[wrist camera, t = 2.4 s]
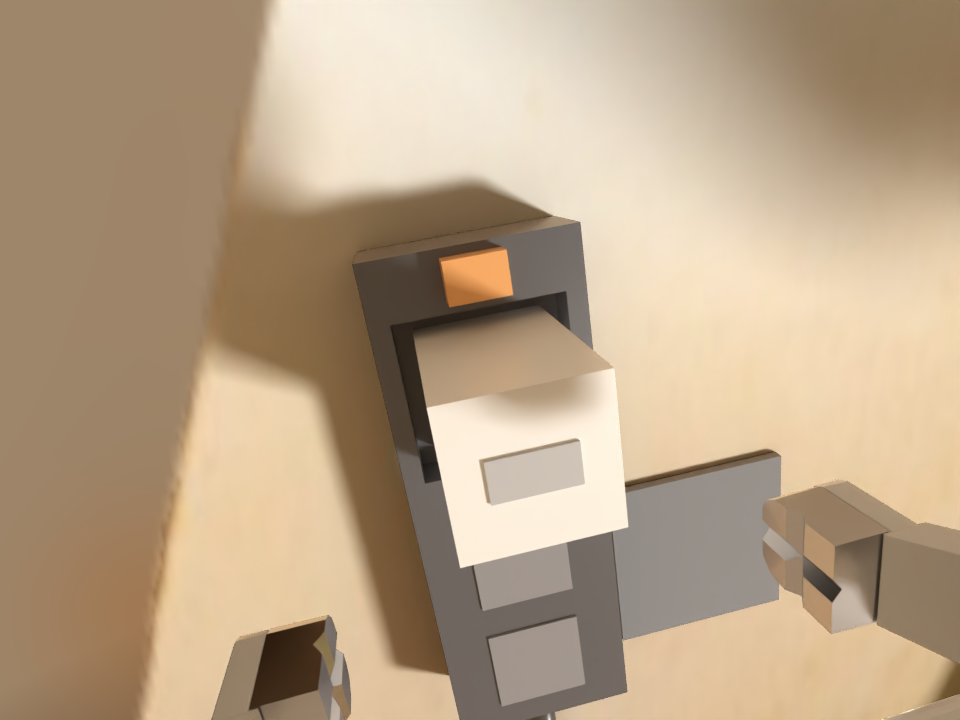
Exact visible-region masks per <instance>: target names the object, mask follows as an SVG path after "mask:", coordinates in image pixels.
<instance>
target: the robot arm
mask: <svg viewBox="0 0 960 720" xmlns="http://www.w3.org/2000/svg"><path fill="white" fill-rule="evenodd" d="M762 520H763V521H764V522H765V523H766V524H767V525H768V526H769V527H770V528H769V529H768V531H767V533H766V534H765V536H764V538H763V539H762V543H763V556H764V558H765V561H766V564H767V566H768V569H769V571H770V572H771V574H772V575H773V577H774V578H775V580H776V581H777V582H778V583H779V584H780V585H781V586H782V587H783V588H784V589H785V590H787V591H790V592H793V593H795V594H798V595H800V596H802V602H803V607H804V608H805V609H806V610H807V611H808V612H809V613H810V614H811V615H812V616H813V617H814V618H815V619H816V620H817V621H818V622H819V623H820V624H821V625H822V626H823V627H824V628H825V629H826V630H827V631H828V632H829V633H830V634H834V633H838V632H841V631H845V630H849V629H853V628H857V627H860V626H864V625H868V624H872V623H875V622H877V625H878V626H880V627H882V628H885V629H887V630H889V631H891V632H893V633H895V634H897V635H899V636H901V637H903V638H906V639H908V640H910V641H912V642H914V643H916V644H918V645H920V646H922V647H925V648H927V649H929V650H931V651H933V652H935V653H937V654H939V655H941V656H943V657H946V658H948V659H950V660H952V661H954V662H956V663H958V664H960V531H959V530H955V529H951V528H947V527H942V526H938V525H934V524H930V523H926V522H925V523H921V524H916V523H915V522H913V521H911V520H910V519H908V518H907V517H905V516H903V515H902V514H900V513H898V512H897V511H895V510H894V509H892V508H890V507H889V506H887V505H885V504H884V503H882V502H881V501H879V500H877V499H876V498H874V497H872V496H871V495H869V494H868V493H866V492H864V491H863V490H861V489H859V488H858V487H856V486H855V485H853V484H851V483H850V482H848V481H844V480H839V479H838V480H835V481H831V482H828V483H824V484H821V485H817V486H814V487H813V488H809V489H806V490H802V491H798V492H794V493H791V494H787V495H783V496H780V497H776V498H772V499H768V500H766V501H765V503H764V505H763V508H762ZM336 640H337V632H336V629H335V626H334V623H333V620H332V618H331V617H330V616H329V615H326V616H322V617H318V618H314V619H309V620H305V621H301V622H297V623H293V624H288V625H284V626H280V627H276V628H272V629H270V630H265V631H261V632H257V633H253V634H249V635H245V636H241V637H240V638H239V639H238V640H237V641H236V642H235V644H234V647H233V650H232V653H231V656H230V660H229V663H228V666H227V670H226V673H225V676H224V680H223V683H222V686H221V689H220V693H219V696H218V699H217V703H216V706H215V709H214V713H213V716H212V719H211V720H347V718H348V717H349V715H350V714H351V691H350V679H349V674H348V669H347V664H346V661H345V658H344V654H343V653H342V652H340V651H339V650H337V649H336ZM880 720H960V694H958V695H955V696H951V697H948V698H945V699H942V700H939V701H936V702H933V703H930V704H927V705H924V706H920V707H917V708H914V709H911V710H908V711H905V712H902V713H899V714H896V715H893V716H889V717H886V718H883V719H880Z"/></svg>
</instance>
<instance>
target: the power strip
mask: <svg viewBox="0 0 960 720" xmlns="http://www.w3.org/2000/svg"><path fill="white" fill-rule="evenodd" d="M352 265H353V269H354V274H355V278H356V282H357V286H358V291H359V295H360V299H361V303H362V308H363V312H364V316H365V320H366V324H367V329H368V333H369V337H370V341H371V346H372V350H373V354H374V358H375V363H376V367H377V371H378V375H379V380H380V384H381V388H382V392H383V397H384V401H385V405H386V409H387V414H388V418H389V422H390V426H391V430H392V435H393V439H394V443H395V447H396V452H397V456H398V460H399V464H400V469H401V473H402V477H403V481H404V486H405V490H406V494H407V498H408V503H409V507H410V511H411V515H412V519H413V524H414V528H415V532H416V536H417V541H418V545H419V549H420V553H421V558H422V562H423V566H424V570H425V575H426V579H427V583H428V587H429V592H430V596H431V600H432V604H433V608H434V613H435V617H436V621H437V625H438V630H439V634H440V638H441V642H442V647H443V651H444V655H445V659H446V664H447V668H448V672H449V676H450V681H451V685H452V689H453V693H454V697H455V702H456V706H457V710H458V714H459V719H460V720H527V719H530V720H556V716H555V712H556V711H560V710H564V709H567V708H571V707H575V706H578V705H582V704H586V703H589V702H593V701H597V700H600V699H604V698H608V697H611V696H615V695H618V694H622V693H626V692H627V683H626V673H625V663H624V653H623V643H622V633H621V623H620V613H619V603H618V593H617V583H616V573H615V563H614V554H613V544H612V534H611V532H607V533H603V534H599V535H595V536H591V537H586V538H582V539H578V540H574V541H570V542H566V543H562V544H558V545H554V546H549V547H545V548H541V549H537V550H533V551H529V552H525V553H521V554H517V555H512V556H508V557H504V558H500V559H496V560H492V561H488V562H484V563H480V564H476V565H471V566H467V567H463V568H460V565H459V560H458V555H457V550H456V545H455V541H454V536H453V531H452V526H451V522H450V517H449V512H448V507H447V503H446V498H445V493H444V488H443V484H442V479H441V474H440V469H439V465H438V460H437V455H436V450H435V446H434V441H433V436H432V431H431V427H430V422H429V417H428V412H427V407H426V402H425V397H424V391H423V386H422V380H421V375H420V370H419V364H418V359H417V353H416V348H415V342H414V337H413V332H412V330H415V329H420V328H425V327H430V326H435V325H440V324H445V323H450V322H455V321H460V320H465V319H470V318H475V317H480V316H485V315H490V314H495V313H500V312H505V311H510V310H515V309H520V308H525V307H530V306H535V305H539V306H540V307H542V308H543V309H544V310H545V311H546V312H548V313H549V314H550V315H551V316H552V317H554V318H555V319H556V320H557V321H558V322H560V323H561V324H562V325H563V326H565V327H566V328H567V329H568V330H569V331H571V332H572V333H573V334H574V335H575V336H577V337H578V338H579V339H580V340H581V341H583V342H584V343H585V344H586V345H587V346H589V347H590V348H591V349H592V350H593V344H592V334H591V324H590V314H589V304H588V294H587V284H586V274H585V264H584V254H583V244H582V235H581V225H580V222H578V221H574V220H570V219H565V218H561V217H557V216H550V217H544V218H539V219H533V220H528V221H522V222H517V223H511V224H506V225H501V226H495V227H490V228H484V229H479V230H473V231H468V232H462V233H457V234H451V235H446V236H441V237H435V238H430V239H424V240H419V241H413V242H408V243H402V244H397V245H391V246H386V247H381V248H375V249H370V250H364V251H359V252H357V253H356V255H355V258H354V261H353V264H352Z"/></svg>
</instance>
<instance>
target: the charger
mask: <svg viewBox="0 0 960 720" xmlns="http://www.w3.org/2000/svg"><path fill="white" fill-rule="evenodd" d="M412 332H413V337H414V342H415V348H416V353H417V359H418V364H419V370H420V375H421V380H422V386H423V391H424V397H425V402H426V407H427V412H428V417H429V422H430V427H431V431H432V436H433V441H434V446H435V450H436V455H437V460H438V465H439V469H440V474H441V479H442V484H443V488H444V493H445V498H446V503H447V507H448V512H449V517H450V522H451V526H452V531H453V536H454V541H455V545H456V550H457V555H458V560H459V565H460V568H463V567H467V566H471V565H476V564H480V563H484V562H488V561H492V560H496V559H500V558H504V557H508V556H512V555H517V554H521V553H525V552H529V551H533V550H537V549H541V548H545V547H549V546H554V545H558V544H562V543H566V542H570V541H574V540H578V539H582V538H586V537H591V536H595V535H599V534H603V533H607V532H611V531H615V530H619V529H623V528H627V527H628V517H627V506H626V494H625V483H624V472H623V460H622V449H621V438H620V426H619V415H618V404H617V392H616V381H615V369H614V367H613V366H611V365H610V364H609V363H608V362H607V361H605V360H604V359H603V358H602V357H601V356H599V355H598V354H597V353H596V352H595V351H593V350H592V349H591V348H590V347H589V346H587V345H586V344H585V343H584V342H583V341H581V340H580V339H579V338H578V337H577V336H575V335H574V334H573V333H572V332H571V331H569V330H568V329H567V328H566V327H565V326H563V325H562V324H561V323H560V322H558V321H557V320H556V319H555V318H554V317H552V316H551V315H550V314H549V313H548V312H546V311H545V310H544V309H543V308H542V307H540V306H539V305H535V306H530V307H525V308H520V309H515V310H510V311H505V312H500V313H495V314H490V315H485V316H480V317H475V318H470V319H465V320H460V321H455V322H450V323H445V324H440V325H435V326H430V327H425V328H420V329H415V330H412Z"/></svg>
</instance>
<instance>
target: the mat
mask: <svg viewBox="0 0 960 720" xmlns="http://www.w3.org/2000/svg"><path fill="white" fill-rule="evenodd" d="M780 492H781V456H780V455H779V454H778V453H776V452H773V453H768V454H764V455H760V456H756V457H751V458H747V459H743V460H739V461H734V462H730V463H726V464H722V465H717V466H713V467H709V468H705V469H701V470H696V471H692V472H688V473H684V474H679V475H675V476H671V477H667V478H662V479H658V480H654V481H650V482H645V483H641V484H637V485H633V486H628V487H625V494H626V506H627V517H628V527H627V528H623V529H619V530H615V531H611V534H612V544H613V554H614V563H615V573H616V583H617V593H618V603H619V613H620V623H621V633H622V639H623V640H627V639H631V638H635V637H638V636H642V635H646V634H650V633H653V632H657V631H661V630H665V629H669V628H672V627H676V626H680V625H684V624H688V623H691V622H695V621H699V620H703V619H706V618H710V617H714V616H718V615H722V614H725V613H729V612H733V611H737V610H741V609H744V608H748V607H752V606H756V605H759V604H763V603H767V602H771V601H775V600H778V599H779V583H778V582H777V581H776V580H775V578H774V577H773V575H772V574H771V572H770V571H769V569H768V566H767V564H766V561H765V558H764V556H763V543H762V539H763V538H764V536H765V534H766V533H767V531H768V529H769V528H770V527H769V526H768V525H767V524H766V523H765V522H764V521H763V520H762V508H763V505H764V503H765V501H766V500H768V499H772V498H776V497H780Z"/></svg>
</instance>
